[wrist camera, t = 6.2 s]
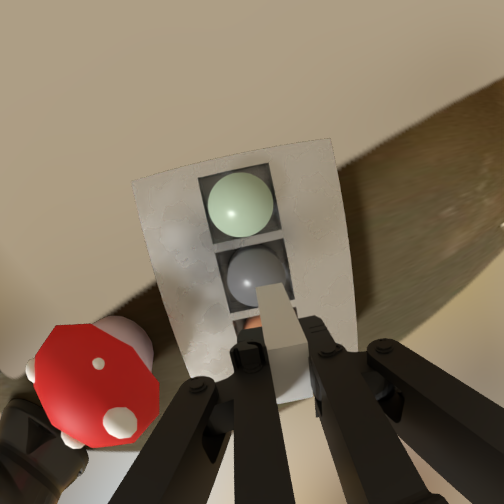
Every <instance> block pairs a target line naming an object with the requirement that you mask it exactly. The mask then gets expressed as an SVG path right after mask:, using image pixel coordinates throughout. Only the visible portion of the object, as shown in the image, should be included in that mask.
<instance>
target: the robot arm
mask: <svg viewBox="0 0 504 504" xmlns="http://www.w3.org/2000/svg"><path fill="white" fill-rule="evenodd" d="M255 288H256V294H257V300H258V306H259V312H260V318H261V324H262V326H261V327H255V328H249V329H243V330H241V331H240V332H239V334H238V335H237V344H235V345H234V346H233V347H232V348H231V349H230V352H229V353H230V357H231V361H232V365H233V369H234V373H233V374H232V375H231V376H229V377H228V378H226V379H223V380H221V381H218V382H215V381H214V379H212V378H210V377H207V376H196V377H193V378H190V379H188V380H187V381H185V382H184V383H183V384H182V385H181V387H180V388H179V390H178V391H177V393H176V395H175V396H174V398H173V400H172V401H171V403H170V404H169V406H168V408H167V409H166V411H165V413H164V414H163V416H162V417H161V419H160V421H159V422H158V424H157V426H156V427H155V429H154V430H153V432H152V434H151V435H150V437H149V438H148V440H147V442H146V443H145V445H144V447H143V448H142V450H141V451H140V453H139V455H138V456H137V458H136V460H135V461H134V463H133V464H132V466H131V467H130V469H129V471H128V472H127V474H126V476H125V477H124V479H123V480H122V482H121V483H120V485H119V487H118V488H117V490H116V491H115V493H114V494H113V496H112V498H111V499H110V501H109V502H108V504H206V503H207V501H208V498H209V495H210V493H211V490H212V487H213V485H214V482H215V479H216V476H217V473H218V471H219V468H220V465H221V462H222V459H223V457H224V454H225V451H226V448H227V445H228V442H229V439H230V437H231V431H232V430H234V491H235V492H234V495H235V504H295V498H294V493H293V488H292V482H291V477H290V472H289V466H288V461H287V455H286V450H285V444H284V439H283V433H282V428H281V423H280V417H279V412H278V406H277V404H280V403H286V402H291V401H296V400H300V399H305V398H310V397H313V393H314V396H315V410H316V417H319V418H320V421H321V424H322V427H323V430H324V433H325V436H326V439H327V442H328V445H329V449H330V452H331V455H332V458H333V461H334V464H335V467H336V470H337V473H338V476H339V479H340V483H341V486H342V489H343V492H344V495H345V498H346V501H347V504H449V503H448V502H447V501H446V499H445V498H444V497H443V496H441V495H440V494H432V493H431V492H429V490H428V489H427V487H426V486H425V484H424V482H423V480H422V478H421V476H420V475H419V473H418V471H417V470H416V467H415V466H414V464H413V462H412V461H411V459H410V457H409V455H408V453H407V451H406V450H405V448H404V446H403V445H402V443H401V441H400V439H399V438H398V436H399V437H400V438H401V439H402V440H403V441H404V442H405V443H406V444H407V445H408V446H410V447H411V448H412V449H413V450H414V451H415V452H416V453H417V454H418V455H419V456H420V457H421V458H422V459H424V460H425V461H426V462H427V463H428V464H429V465H430V466H431V467H432V468H433V469H434V470H435V471H437V472H438V473H439V474H440V475H441V476H442V477H443V478H444V479H445V480H446V481H447V482H449V483H450V484H451V485H452V486H453V487H454V488H455V489H456V490H458V491H459V492H460V493H461V494H462V495H463V496H464V497H465V498H466V499H468V500H469V501H470V502H471V503H472V504H504V408H502V407H501V406H499V405H498V404H496V403H494V402H493V401H491V400H490V399H488V398H486V397H485V396H483V395H482V394H480V393H479V392H477V391H475V390H474V389H472V388H471V387H469V386H468V385H466V384H464V383H463V382H461V381H460V380H458V379H456V378H455V377H453V376H452V375H450V374H448V373H447V372H445V371H444V370H442V369H441V368H439V367H437V366H436V365H434V364H433V363H431V362H429V361H428V360H426V359H425V358H423V357H421V356H420V355H418V354H417V353H415V352H413V351H412V350H410V349H409V348H407V347H405V346H404V345H402V344H401V343H399V342H398V341H395V340H393V339H387V338H383V339H378V340H375V341H373V342H371V343H370V344H369V345H368V347H367V351H365V352H349V351H347V350H346V348H345V347H344V346H343V345H341V344H338V343H336V342H335V341H334V339H333V337H332V336H331V334H330V332H329V330H328V329H327V327H326V325H325V324H324V322H323V320H322V319H321V318H319V317H317V316H315V315H313V316H308V317H303V318H297V316H296V314H295V311H294V309H293V307H292V305H291V302H290V300H289V298H288V295H287V293H286V291H285V288H284V286H283V284H282V283H277V284H271V285H266V286H260V287H255ZM312 390H313V393H312ZM397 435H398V436H397ZM88 461H89V457H88V453H87V451H86V449H85V448H84V446H83V447H82V448H79V449H72V448H71V447H69V446H67V445H65V443H64V441H63V439H62V438H61V430H59V429H58V428H56V427H54V426H53V425H52V424H51V422H50V420H49V418H48V416H47V414H46V412H45V410H44V409H42V408H40V407H39V406H37V405H35V404H33V403H31V402H28V401H26V400H22V399H13V400H11V401H10V402H9V403H8V404H7V406H6V407H5V408H4V410H3V412H2V416H1V419H0V504H57V503H58V500H59V498H60V496H61V493H62V492H63V491H64V490H65V489H66V488H67V487H68V486H69V485H70V484H72V483H73V482H74V481H75V479H76V478H77V477H78V476H81V475H82V474H83V472H84V471H85V468H86V466H87V464H88Z"/></svg>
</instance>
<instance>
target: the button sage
mask: <svg viewBox="0 0 504 504" xmlns="http://www.w3.org/2000/svg"><path fill="white" fill-rule="evenodd" d="M208 211H209V215H210V217H211V220H212V221H213V223H214V224H215V226H216V227H217V228H218V229H219V230H221V231H222V232H223V233H225V234H227V235H230V236H234V237H247V236H251V235H253V234H256V233H257V232H259V231H260V230H262V229H263V228H264V227H265V226H266V224H267V223H268V221H269V220H270V218H271V215H272V212H273V198H272V194H271V192H270V190H269V188H268V186H267V185H266V184H265V183H264V182H263V181H262V180H261V179H260V178H258V177H256V176H255V175H252V174H249V173H243V172H240V173H233V174H229V175H227V176H225V177H223V178H222V179H220V180H219V181H218V182H217V183H216V184H215V186H214V187H213V189H212V190H211V192H210V195H209V199H208Z"/></svg>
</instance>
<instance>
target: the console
mask: <svg viewBox="0 0 504 504" xmlns="http://www.w3.org/2000/svg"><path fill="white" fill-rule="evenodd" d="M240 172H243V173H249V174H252V175H255V176H256V177H258V178H260V179H261V180H262V181H263V182H264V183H265V184H266V185H267V186H268V188H269V190H270V192H271V194H272V198H273V212H272V215H271V218H270V220H269V221H268V223H267V224H266V226H265V227H264V228H263V229H262V230H260V231H259V232H257V233H256V234H253V235H251V236H247V237H234V236H230V235H227V234H225V233H223V232H222V231H221V230H219V229H218V228H217V227H216V226H215V224H214V223H213V221H212V220H211V217H210V215H209V211H208V199H209V195H210V192H211V190H212V189H213V187H214V186H215V184H216V183H217V182H218V181H219V180H220V179H222V178H223V177H225V176H227V175H229V174H233V173H240ZM131 184H132V189H133V193H134V198H135V202H136V206H137V210H138V215H139V219H140V223H141V227H142V231H143V235H144V239H145V242H146V246H147V249H148V253H149V257H150V260H151V264H152V267H153V270H154V274H155V277H156V281H157V284H158V287H159V290H160V294H161V297H162V300H163V303H164V306H165V309H166V312H167V315H168V318H169V321H170V324H171V327H172V329H173V332H174V335H175V338H176V341H177V343H178V346H179V349H180V351H181V354H182V357H183V359H184V362H185V364H186V367H187V369H188V372H189V374H190V377H191V378H193V377H196V376H207V377H210V378H212V379H214V381H215V382H218V381H221V380H223V379H226V378H228V377H229V376H231V375H232V374H233V373H234V369H233V365H232V361H231V357H230V353H229V352H230V349H231V348H232V347H233V346H234V345H235V344H237V335H238V334H239V332H240V331H241V330H243V326H244V323H245V321H246V319H247V318H248V317H253V316H257V315H260V312H259V306H257V307H254V306H248V305H245V304H243V303H241V302H239V301H238V300H237V299H236V298H235V297H234V296H233V295H232V294H231V292H230V290H229V287H228V283H227V276H228V265H229V262H230V259H231V258H232V256H233V255H234V253H235V252H236V251H238V250H239V249H240V248H242V247H245V246H250V245H254V244H259V245H263V246H266V247H268V248H270V249H271V250H272V251H273V252H274V253H275V254H276V255H277V257H278V258H279V260H280V262H281V263H282V265H283V267H284V269H285V273H286V282H285V286H284V288H285V291H286V293H287V295H288V298H289V300H290V302H291V305H292V307H293V309H294V311H295V314H296V316H297V318H303V317H308V316H313V315H315V316H317V317H319V318H321V319H322V320H323V322H324V324H325V325H326V327H327V329H328V330H329V332H330V334H331V336H332V337H333V339H334V341H335V342H336V343H338V344H341V345H343V346H344V347H345V348H346V350H347V351H349V352H358V342H357V323H356V308H355V296H354V285H353V274H352V265H351V256H350V248H349V240H348V233H347V226H346V219H345V213H344V206H343V200H342V194H341V188H340V183H339V177H338V172H337V167H336V162H335V157H334V152H333V148H332V143H331V139H330V138H327V139H320V140H313V141H306V142H299V143H292V144H286V145H280V146H274V147H269V148H263V149H258V150H253V151H248V152H243V153H239V154H233V155H229V156H225V157H220V158H215V159H212V160H207V161H203V162H199V163H194V164H191V165H187V166H183V167H179V168H175V169H172V170H168V171H164V172H161V173H158V174H154V175H150V176H147V177H144V178H140V179H137V180H134V181H131Z"/></svg>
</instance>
